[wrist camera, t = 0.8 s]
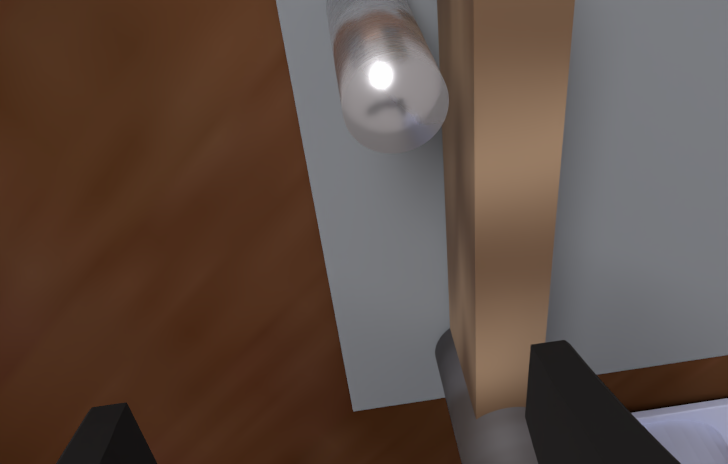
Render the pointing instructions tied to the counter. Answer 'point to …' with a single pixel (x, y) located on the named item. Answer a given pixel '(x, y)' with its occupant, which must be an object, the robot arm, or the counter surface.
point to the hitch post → (385, 75)
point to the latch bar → (499, 209)
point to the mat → (574, 206)
